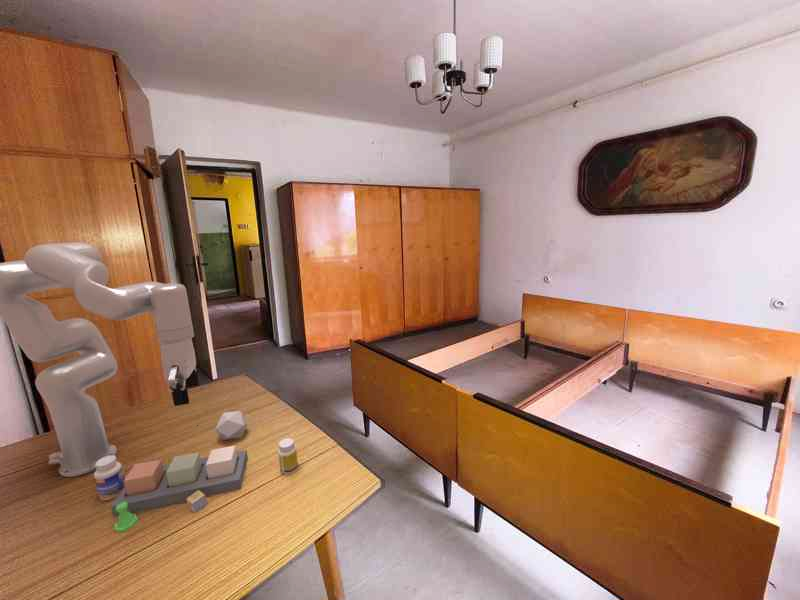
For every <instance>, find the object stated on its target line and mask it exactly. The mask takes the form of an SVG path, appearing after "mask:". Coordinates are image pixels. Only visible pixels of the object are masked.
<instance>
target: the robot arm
mask: <svg viewBox="0 0 800 600" xmlns="http://www.w3.org/2000/svg"><path fill="white" fill-rule="evenodd" d="M109 278H110V271H109V268H108V267H107V266H106V265H105V264H104V263H103V257H102V254H101V252H100V251H99V250H98V249H97V248H96V247H95V246H93V245H91V244H89V243H86V242H81V241H79V242H78V241H75V242H60V243H59V242H55V243H46V244H45V243H44V244H39V245H35V246H34V247H31V248H29V250H27V251H26V253H25V254H24V257H23V260H22V259H21V260H14V261H13V260H11V261H4V262H0V318H1V320H3V322H4V323H5V325H6V327H7V328H8V330H9V332H10V333H11V334H12V336H13V338H14V339H15V341H16V342H17V344H18V346H19V347H20V349H21V350H22V351H23V354H25V356H26V357H27V358H28V359H29V360H31V361H32V362H35V363H45V362H50V361H52V360H56V359H59V358H62V357H65V356H67V355H70V354H74V353H76V352H77V353H78V354H79V355H77V356H75V357H71V358H68V359H66V360H64V361H61V362H58V363H56V364H53V365H51V366H48V367H46V368H45V369H44V370H42V371H40V372H39V373H38V375H37V376H36V378H35V382H34V385H35V387H36V390H37V391H38V393H39V394H40V396H41V397H42V399H43V402H44V403H45V404H46V406H47V409H48V411H49V414H50V416H51V421H52V423H53V427H54V430H55V434H56V437H57V440H58V443H59V444H58V445H59V447H60V450H61V452H60V451H59V452H54V453H51V454H49V456H48V465H57V464H60V466H59V468H58V474H59V475H60V476H61V477H66V478H73V477H78V476H79V477H80V476H82V475H86V474H89V473H91V472H93V471H94V472H95V471H96V470H97V469H96V465H95V464H96V462H97V461H98V460H100V459H102V458H104V457H106V456H111V455H114V456H116V457H117V454H118V449H117V447H116V445H113V444H109V442H108V439H107V434H106V430H105V425H104V422H103V419H102V414H101V411H100V408H99V403H98V401H97V400H96V398H94V397H93V396H91V395H89V394H87V393H86V392H85V391H86V390H88V389H90V388H91V387H93V386H95V385H97V384H100V383H103V381H106V380H108V379H110V378H112V377H113V376H114V375H116V373H117V370H118V363H117V360H116V358H115V355H114V354H113V352H112V351H111V349H110V347H109V345H108V343H107V342H106V339H105V338H104V336H103V335H102V333H101V332H100V330H99V329H98V327H97V325H95V324H94V323H93V322H92V321H90V320H89V319H85V318H81V317H76V318H69V319H65V320H61V321H58V320H57V319H56V318H55V317H54V315H53V313H52V312H51V310H50V308H49V307H47V305H45V304H44V303H42V302H41V301H39V300H38V299H35V298H33V297H30V296H27V295H26V294H31V293H35V292H36V293H37V292H42V291H49V290H55V289H60V288H65V287H67V288H69V289H71V290H73V294H74V296H75V299H76V300H77V302H78V303H79V304H80V305H81V307H82V308H84V309H85V310H87V312H90V313H93V314H94V315H98V316H100V317H102V318H104V319H108V320H111V321H112V320H113V321H125V320H128V319H132V318H134V317H139V316H142V315H144V314H145V315H146V314H149V313H152V317H153V321H154V325H155V331H156V335H157V340H158V343H159V344H160V353H161V354H160V355H161V363H162V371H163V372H162V373H163V377H164V381H165V382H166V383H168V385H169V389H170V393H171V397H172V403H173V405H174V406H176V407H177V406H183V405H188V404H190V398H189V392H188V388H194V387H198V386H199V385H200V382H199V376H198V371H197V367H196V366H197V357H196V351H195V347H194V344H193V339H192V338H194V337H195V332H194V327H193V321H192V315H191V310H190V304H189V299H188V298H189V296H188V293H187V288H186V287H185V285H184V284H181V283H175V282H174V283H173V282H172V283H170V282H169V283H163V282H159V281H144V282H140V283H134V284H133V283H132V284H129V285H123V286H119V287H115V288H111V287H108V286H106V285H107V283H108V282H109Z"/></svg>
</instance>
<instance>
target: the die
mask: <svg viewBox="0 0 800 600" xmlns="http://www.w3.org/2000/svg"><path fill="white" fill-rule="evenodd" d="M248 423H249V420H248V419H247V418H246V416H245V415H244V414H243V412H242V411H241V410H237V411H229V412H223V413H222V414H221V416H220V419H219V420H218V423H217V425H216V426H215V428H214V429H215V431H216V433H218V435H219V436H220V438H221V439H222V440H224V441H227V440H237V439H241V438H242V437H243V435H244V432H245V430H246V427H247V425H248Z"/></svg>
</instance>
